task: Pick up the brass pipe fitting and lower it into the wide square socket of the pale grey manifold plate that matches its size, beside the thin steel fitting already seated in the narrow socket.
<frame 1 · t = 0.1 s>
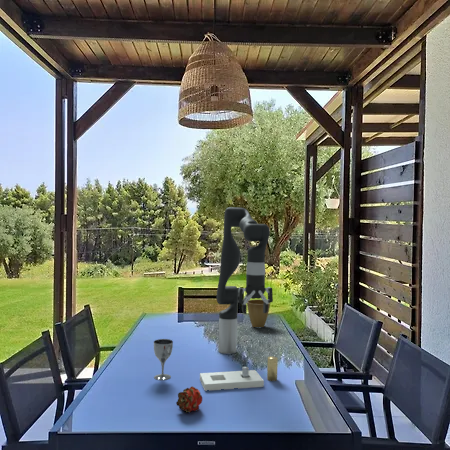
hand: (254, 313, 166), 29 cm above the table, tool pointing down, fingers open, 8 cm apart
dragon fruit: (189, 410, 143), on the table
steel fitting: (245, 382, 169), resting in manifold plate
manifold plate: (231, 382, 168), on the table
wine glass: (162, 377, 173), on the table
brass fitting: (272, 379, 173), on the table
plant pot: (258, 327, 262), on the table
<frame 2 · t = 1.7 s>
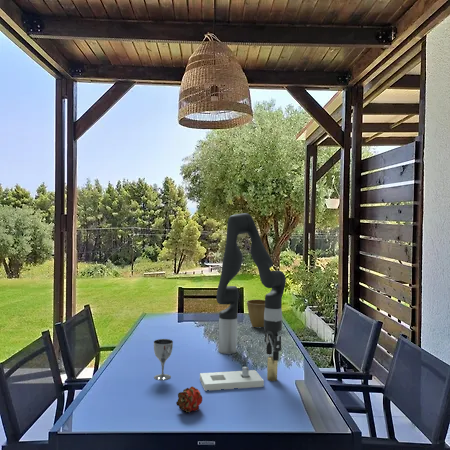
hand: (272, 357, 172), 9 cm above the table, tool pointing down, fingers open, 8 cm apart
nothing on the table moved.
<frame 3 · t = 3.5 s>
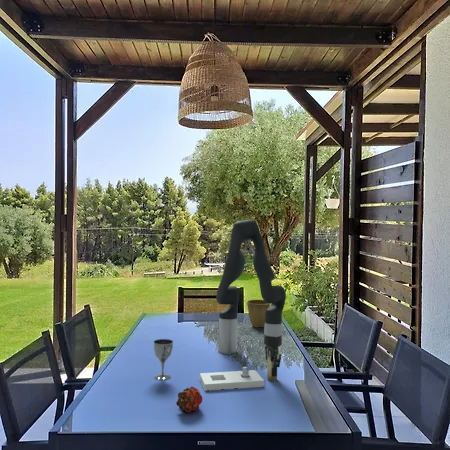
hand: (272, 373, 173), 2 cm above the table, tool pointing down, fingers closed on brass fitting, 4 cm apart
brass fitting: (272, 379, 173), on the table, touching gripper
everything else where it was.
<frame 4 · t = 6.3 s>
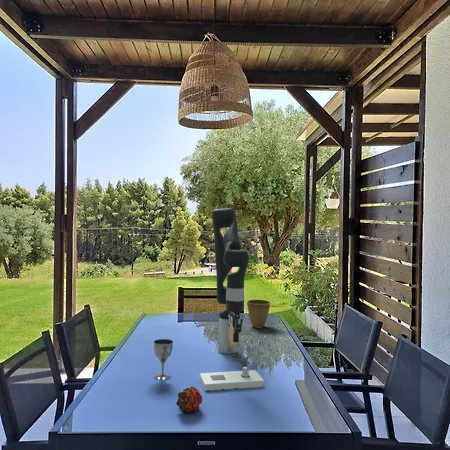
hand: (234, 340, 168), 17 cm above the table, tool pointing down, fingers closed on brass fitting, 4 cm apart
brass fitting: (234, 345, 168), point 15 cm above the table, touching gripper
everything else where it was.
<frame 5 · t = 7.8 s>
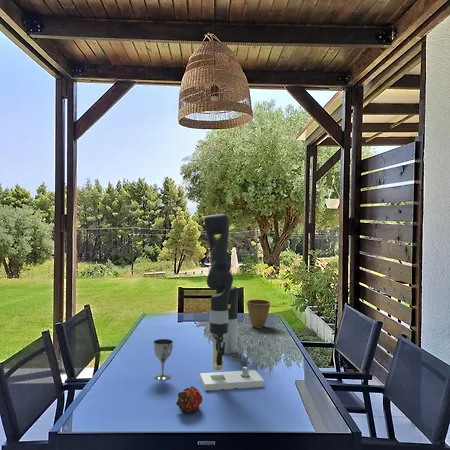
hand: (218, 362, 167), 9 cm above the table, tool pointing down, fingers closed on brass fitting, 4 cm apart
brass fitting: (217, 368, 167), point 6 cm above the table, touching gripper
everything else where it was.
when the fingers open (6 cm above the table, at t = 9.1 s): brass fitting drops 3 cm, resting in manifold plate.
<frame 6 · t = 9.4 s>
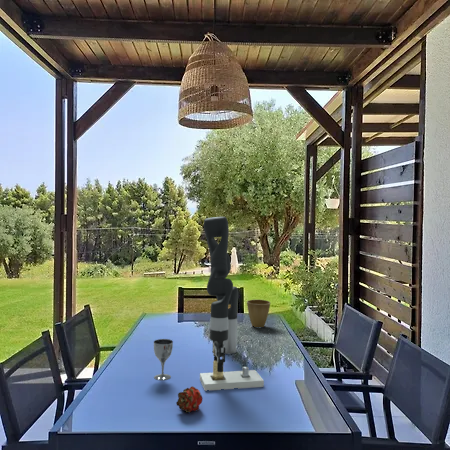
hand: (218, 368, 167), 6 cm above the table, tool pointing down, fingers open, 6 cm apart
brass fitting: (217, 383, 167), resting in manifold plate
everything else where it was.
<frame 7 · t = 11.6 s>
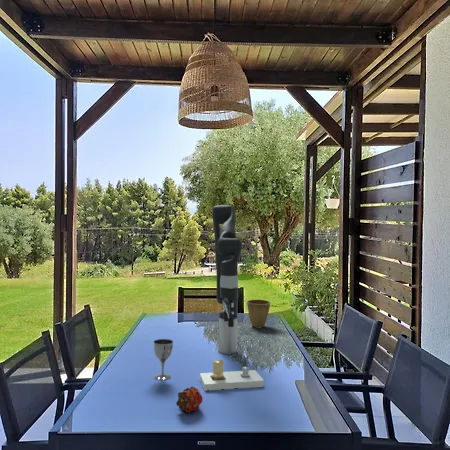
hand: (228, 323, 173), 23 cm above the table, tool pointing down, fingers open, 8 cm apart
nothing on the table moved.
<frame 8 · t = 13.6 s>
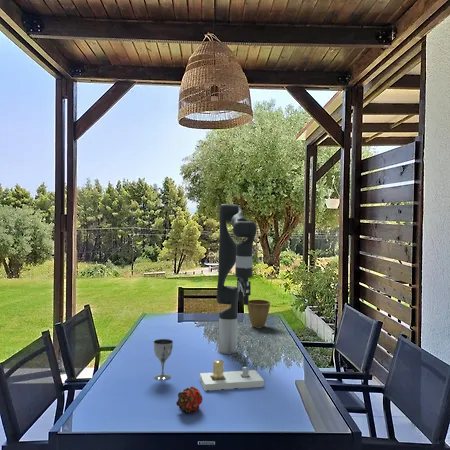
hand: (243, 302, 182), 30 cm above the table, tool pointing down, fingers open, 8 cm apart
nothing on the table moved.
at the end: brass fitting 0.1 cm from the target spot on the manifold plate, point 0.0 cm above the manifold plate's base; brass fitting tilted 1°; the gripper is holding nothing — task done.
